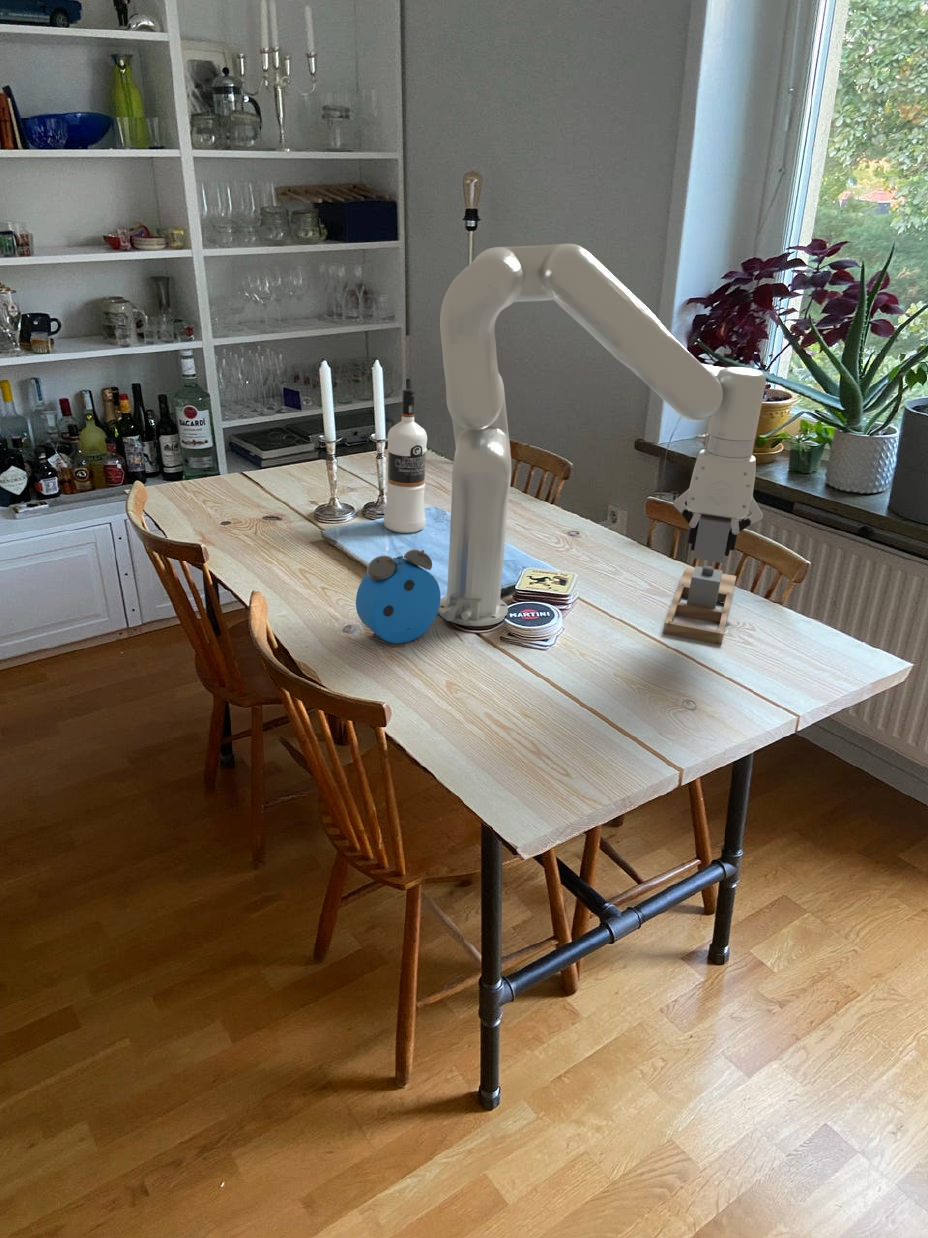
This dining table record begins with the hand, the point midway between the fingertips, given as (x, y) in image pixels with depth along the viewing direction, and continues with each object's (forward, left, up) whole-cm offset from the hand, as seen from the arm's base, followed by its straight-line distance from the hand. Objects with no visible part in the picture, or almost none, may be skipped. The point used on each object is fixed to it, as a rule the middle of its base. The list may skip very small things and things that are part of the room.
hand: (710, 549), depth 155 cm
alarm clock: (-27, +46, -15) cm, 56 cm away
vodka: (+23, +66, -15) cm, 72 cm away
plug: (0, 0, -1) cm, 1 cm away
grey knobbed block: (+9, 0, -15) cm, 17 cm away
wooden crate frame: (+9, 0, -15) cm, 17 cm away
